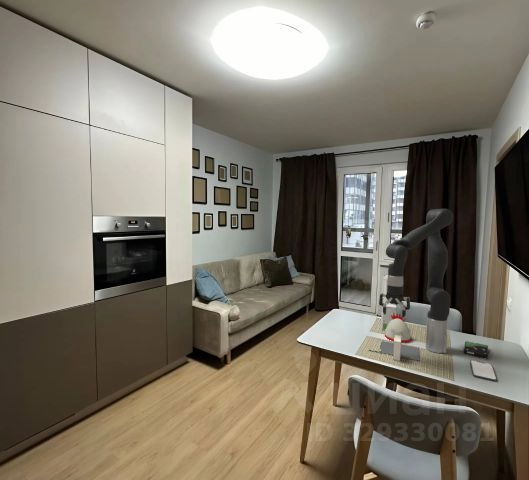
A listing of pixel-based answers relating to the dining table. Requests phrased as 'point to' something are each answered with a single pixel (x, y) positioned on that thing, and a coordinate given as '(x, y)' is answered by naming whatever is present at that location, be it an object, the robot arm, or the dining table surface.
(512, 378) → the dining table surface
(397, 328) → the kitchen timer
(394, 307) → the skincare box
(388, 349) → the mat
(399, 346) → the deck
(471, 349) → the disk drive
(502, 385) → the dining table surface
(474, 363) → the phone case
